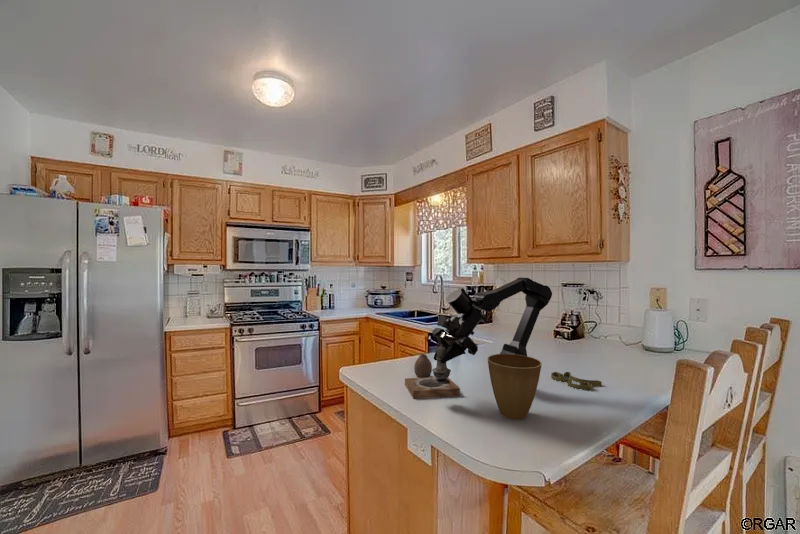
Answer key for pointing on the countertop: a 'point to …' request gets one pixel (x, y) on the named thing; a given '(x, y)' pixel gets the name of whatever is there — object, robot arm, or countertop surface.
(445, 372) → the grey chess piece
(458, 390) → the bore block
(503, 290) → the robot arm
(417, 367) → the vase
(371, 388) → the countertop surface
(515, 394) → the plant pot
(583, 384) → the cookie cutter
